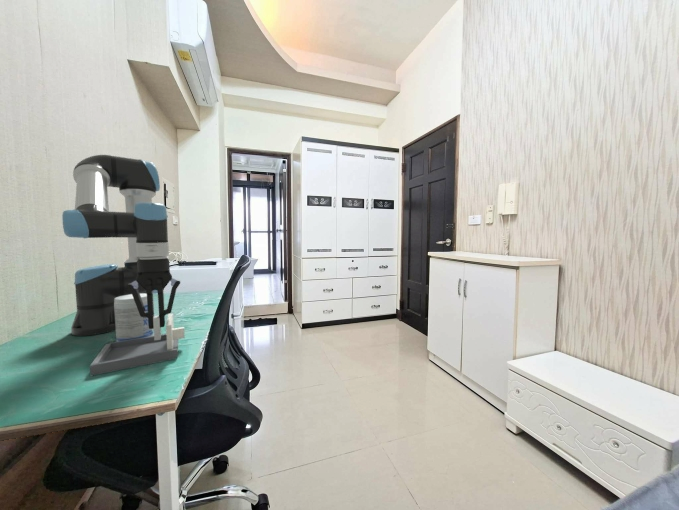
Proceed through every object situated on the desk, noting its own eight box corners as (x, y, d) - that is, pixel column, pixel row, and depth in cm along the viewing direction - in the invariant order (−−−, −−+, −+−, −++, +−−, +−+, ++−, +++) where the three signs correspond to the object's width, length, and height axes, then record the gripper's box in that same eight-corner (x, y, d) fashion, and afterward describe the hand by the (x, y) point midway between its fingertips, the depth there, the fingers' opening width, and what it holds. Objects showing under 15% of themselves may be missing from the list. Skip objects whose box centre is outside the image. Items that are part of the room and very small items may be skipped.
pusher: (169, 338, 85) (168, 313, 84) (184, 335, 87) (183, 311, 87) (167, 354, 73) (165, 325, 73) (185, 350, 76) (183, 323, 75)
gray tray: (107, 351, 78) (106, 343, 78) (178, 339, 87) (178, 331, 87) (90, 375, 65) (89, 365, 64) (177, 358, 74) (176, 349, 73)
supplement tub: (152, 342, 85) (150, 296, 84) (114, 349, 80) (111, 301, 79) (153, 333, 93) (151, 291, 92) (118, 339, 88) (116, 295, 87)
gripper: (121, 260, 70) (127, 347, 71) (179, 257, 76) (183, 338, 78) (127, 258, 76) (132, 338, 78) (180, 256, 83) (183, 330, 84)
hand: (157, 338), depth 78 cm, fingers closed
